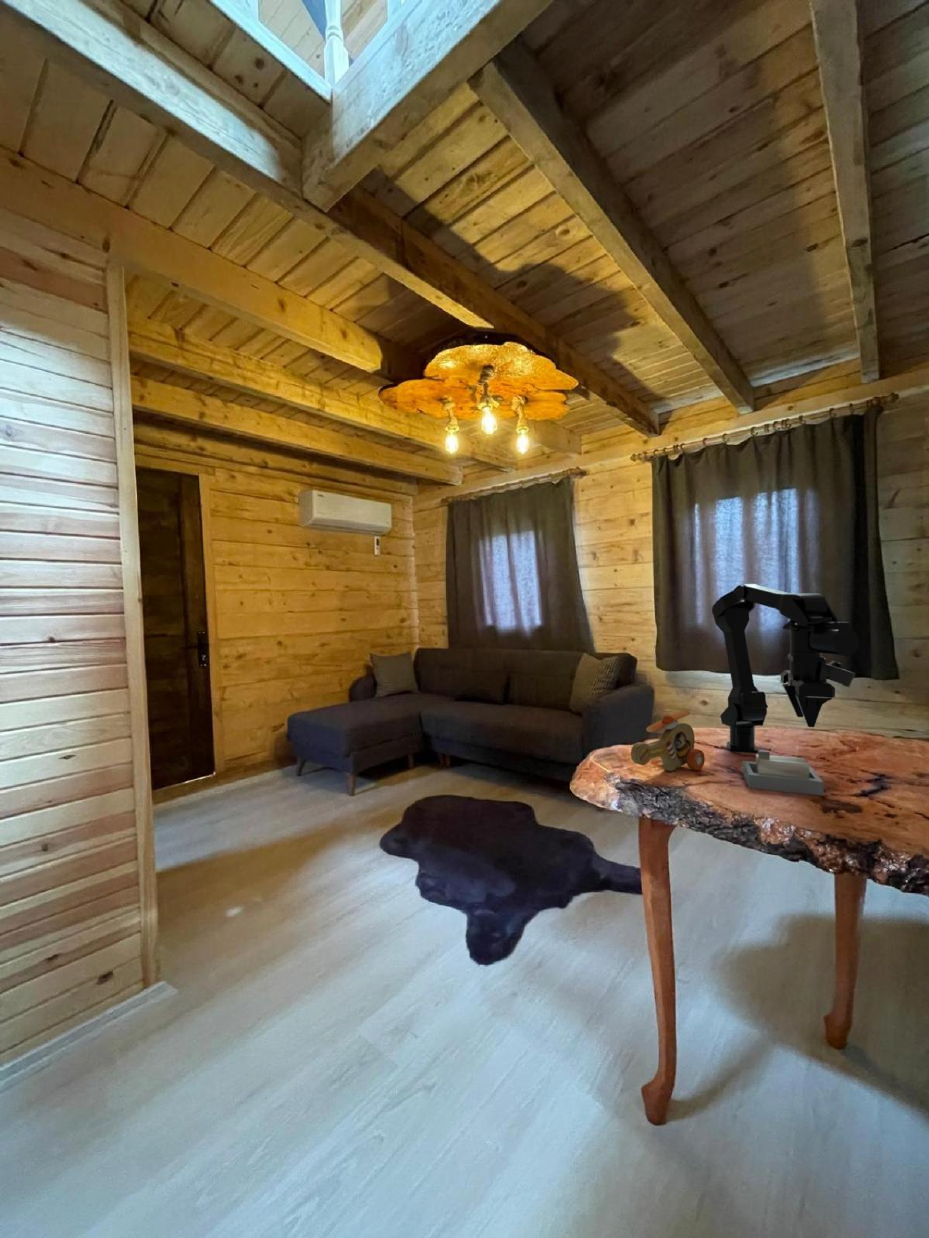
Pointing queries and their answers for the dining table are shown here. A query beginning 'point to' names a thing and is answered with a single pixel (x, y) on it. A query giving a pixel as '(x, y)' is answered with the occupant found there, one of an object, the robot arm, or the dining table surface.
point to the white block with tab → (781, 765)
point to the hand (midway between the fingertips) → (805, 721)
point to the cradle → (782, 781)
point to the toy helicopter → (670, 745)
